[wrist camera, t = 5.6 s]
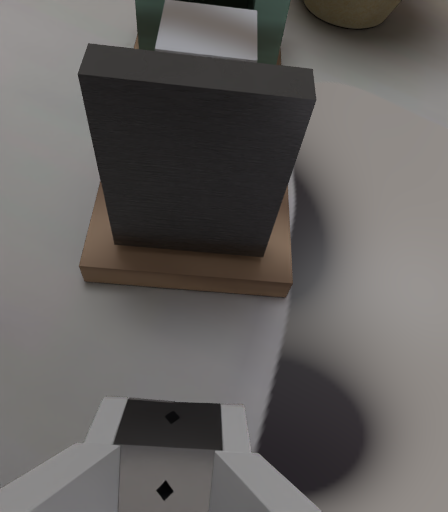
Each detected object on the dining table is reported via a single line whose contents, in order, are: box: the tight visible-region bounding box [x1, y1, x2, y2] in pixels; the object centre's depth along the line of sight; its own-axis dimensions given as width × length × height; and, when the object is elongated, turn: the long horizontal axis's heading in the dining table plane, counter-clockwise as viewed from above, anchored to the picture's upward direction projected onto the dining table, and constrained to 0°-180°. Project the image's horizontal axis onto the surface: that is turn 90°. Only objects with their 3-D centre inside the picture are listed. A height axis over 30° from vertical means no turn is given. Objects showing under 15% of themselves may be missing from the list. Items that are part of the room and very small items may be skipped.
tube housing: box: [79, 0, 293, 297], centre depth 24 cm, size 23×10×8 cm, turn 178°
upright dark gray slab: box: [78, 43, 316, 257], centre depth 20 cm, size 14×7×9 cm, turn 178°
